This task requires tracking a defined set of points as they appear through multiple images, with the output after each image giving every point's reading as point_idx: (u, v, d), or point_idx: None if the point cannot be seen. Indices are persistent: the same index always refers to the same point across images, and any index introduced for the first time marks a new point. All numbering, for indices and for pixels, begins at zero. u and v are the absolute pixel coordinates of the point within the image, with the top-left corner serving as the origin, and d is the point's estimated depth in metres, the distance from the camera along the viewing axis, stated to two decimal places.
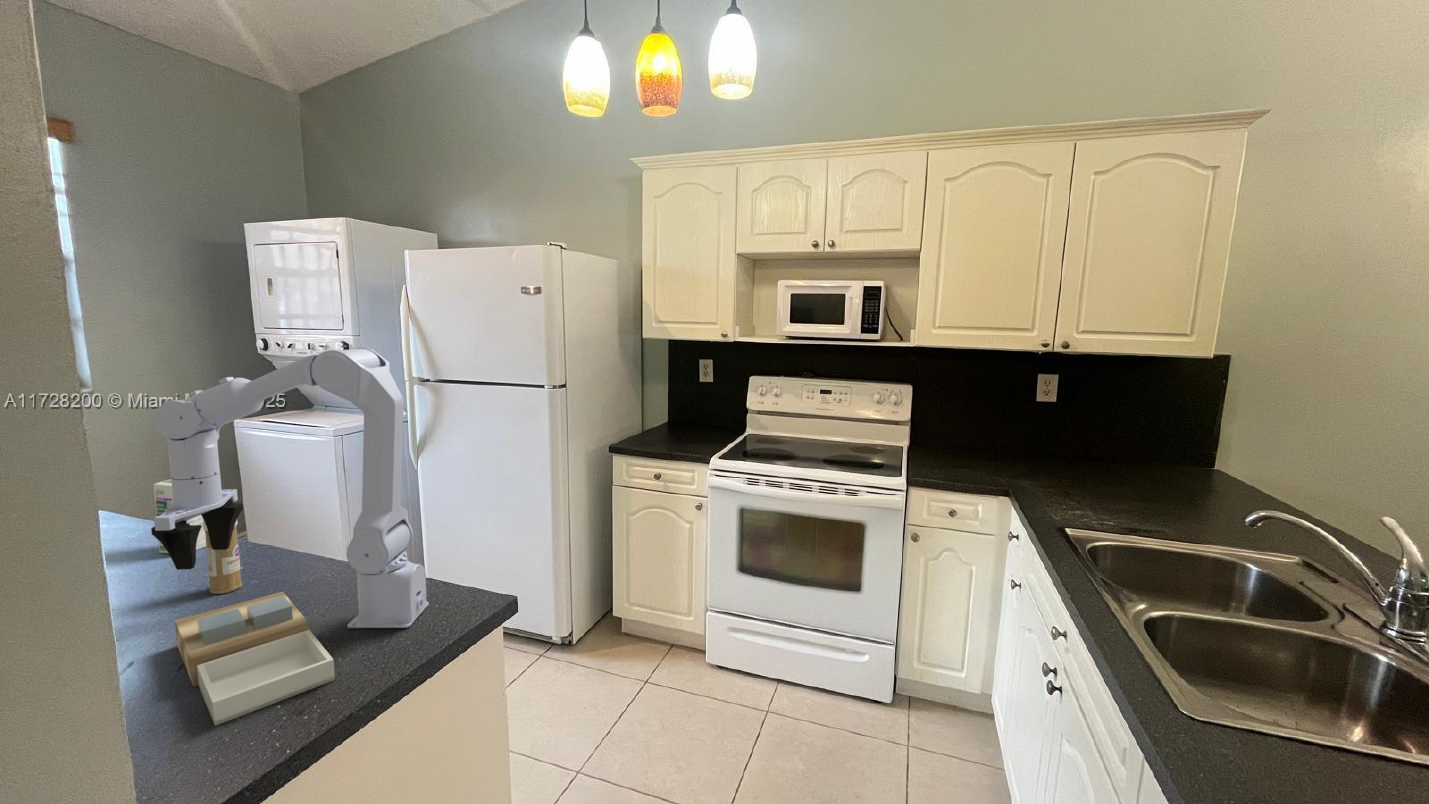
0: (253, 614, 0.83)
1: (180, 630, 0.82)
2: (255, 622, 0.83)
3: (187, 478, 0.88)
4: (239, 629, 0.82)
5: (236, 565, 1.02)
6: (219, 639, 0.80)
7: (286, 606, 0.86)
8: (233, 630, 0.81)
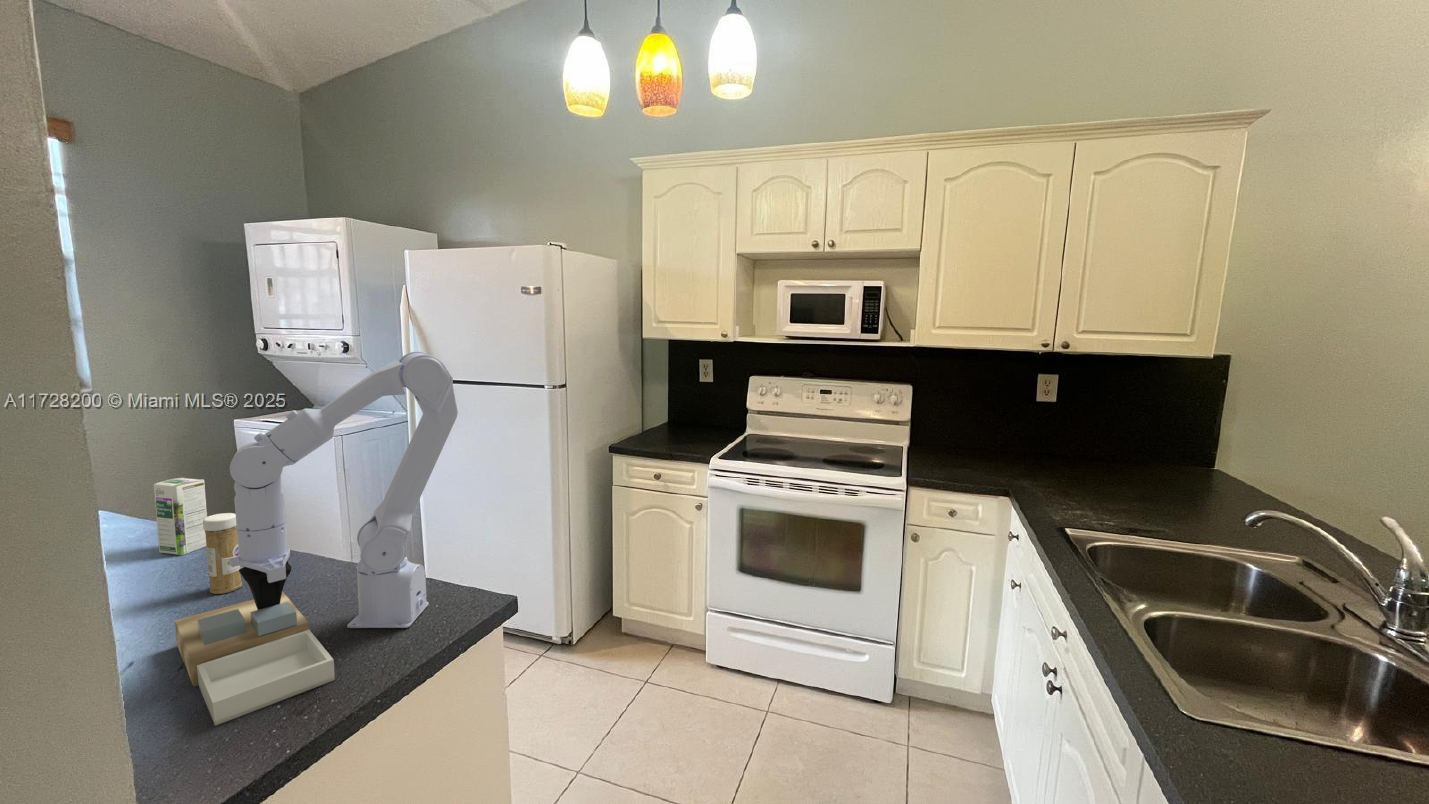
0: (257, 620, 0.82)
1: (180, 630, 0.82)
2: (259, 628, 0.81)
3: (267, 527, 0.83)
4: (239, 629, 0.82)
5: None
6: (219, 639, 0.80)
7: (290, 612, 0.84)
8: (233, 630, 0.81)
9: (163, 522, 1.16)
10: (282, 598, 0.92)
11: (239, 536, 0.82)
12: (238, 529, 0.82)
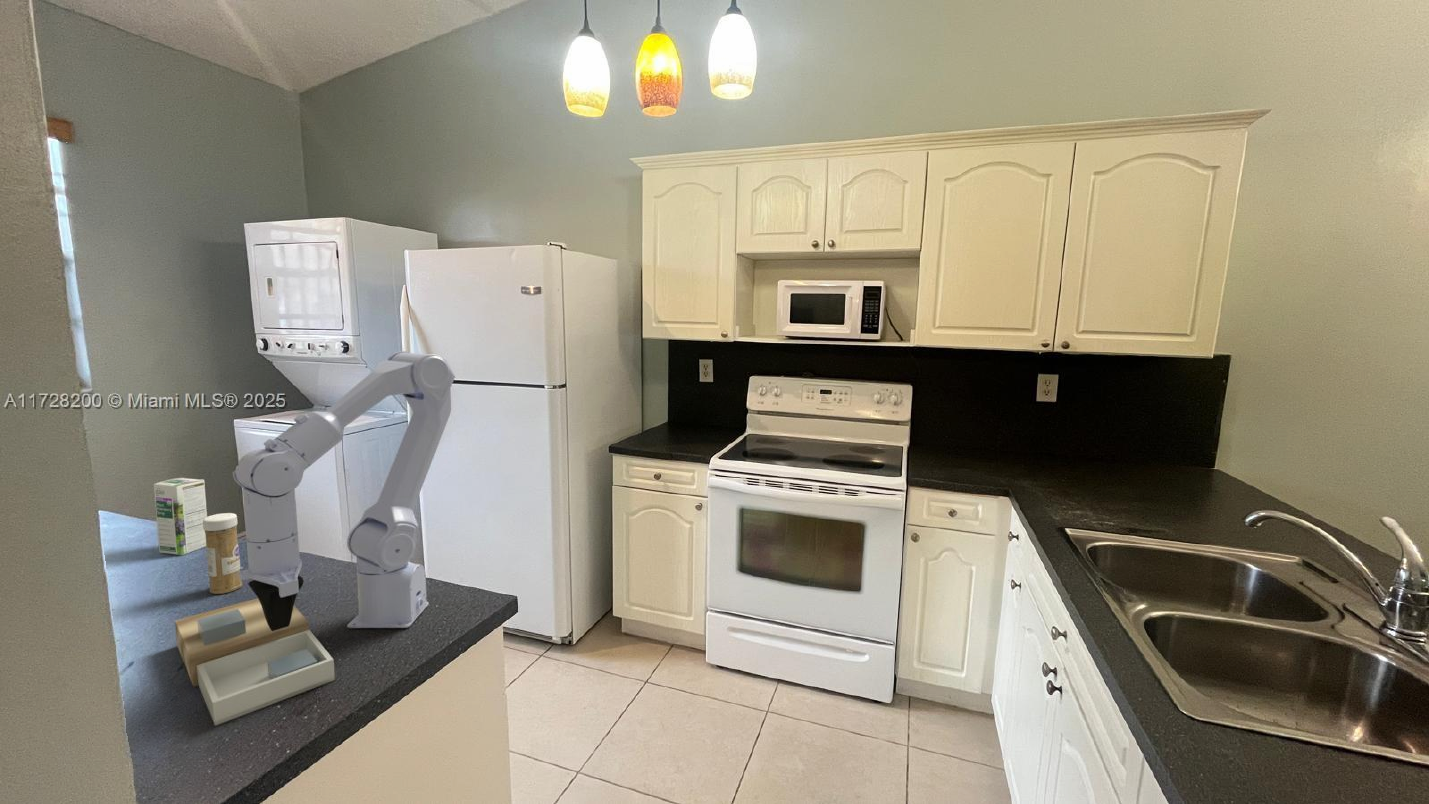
0: None
1: (180, 630, 0.82)
2: None
3: (287, 536, 0.80)
4: (239, 629, 0.82)
5: (236, 565, 1.02)
6: (219, 639, 0.80)
7: None
8: (233, 630, 0.81)
9: (163, 522, 1.16)
10: None
11: (249, 548, 0.78)
12: (248, 541, 0.78)
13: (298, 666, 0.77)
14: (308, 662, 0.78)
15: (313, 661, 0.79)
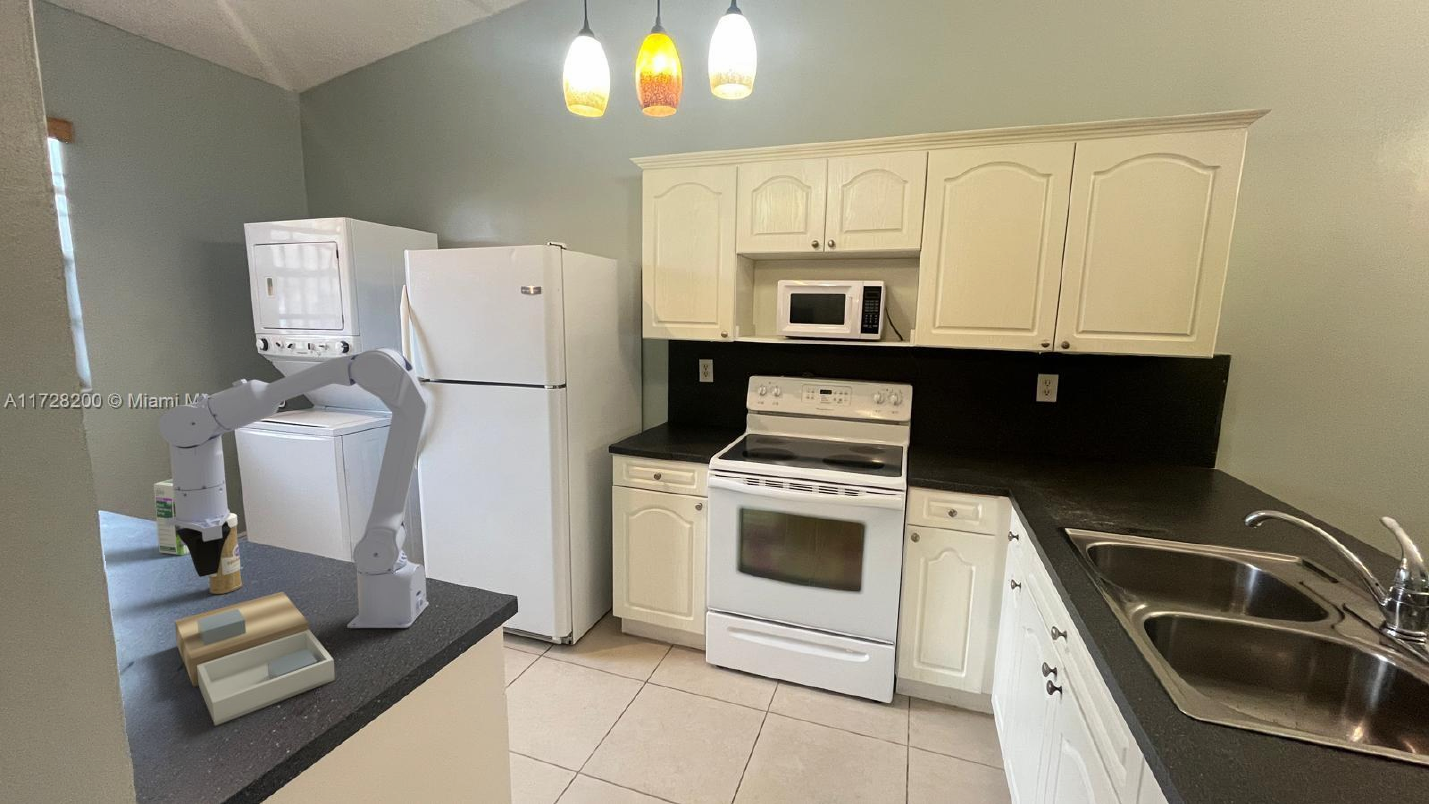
0: None
1: (180, 630, 0.82)
2: None
3: (198, 488, 0.82)
4: (239, 629, 0.82)
5: (236, 565, 1.02)
6: (219, 639, 0.80)
7: None
8: (233, 630, 0.81)
9: (163, 522, 1.16)
10: (282, 598, 0.92)
11: (175, 495, 0.82)
12: (174, 488, 0.82)
13: (298, 666, 0.77)
14: (308, 662, 0.78)
15: (313, 661, 0.79)
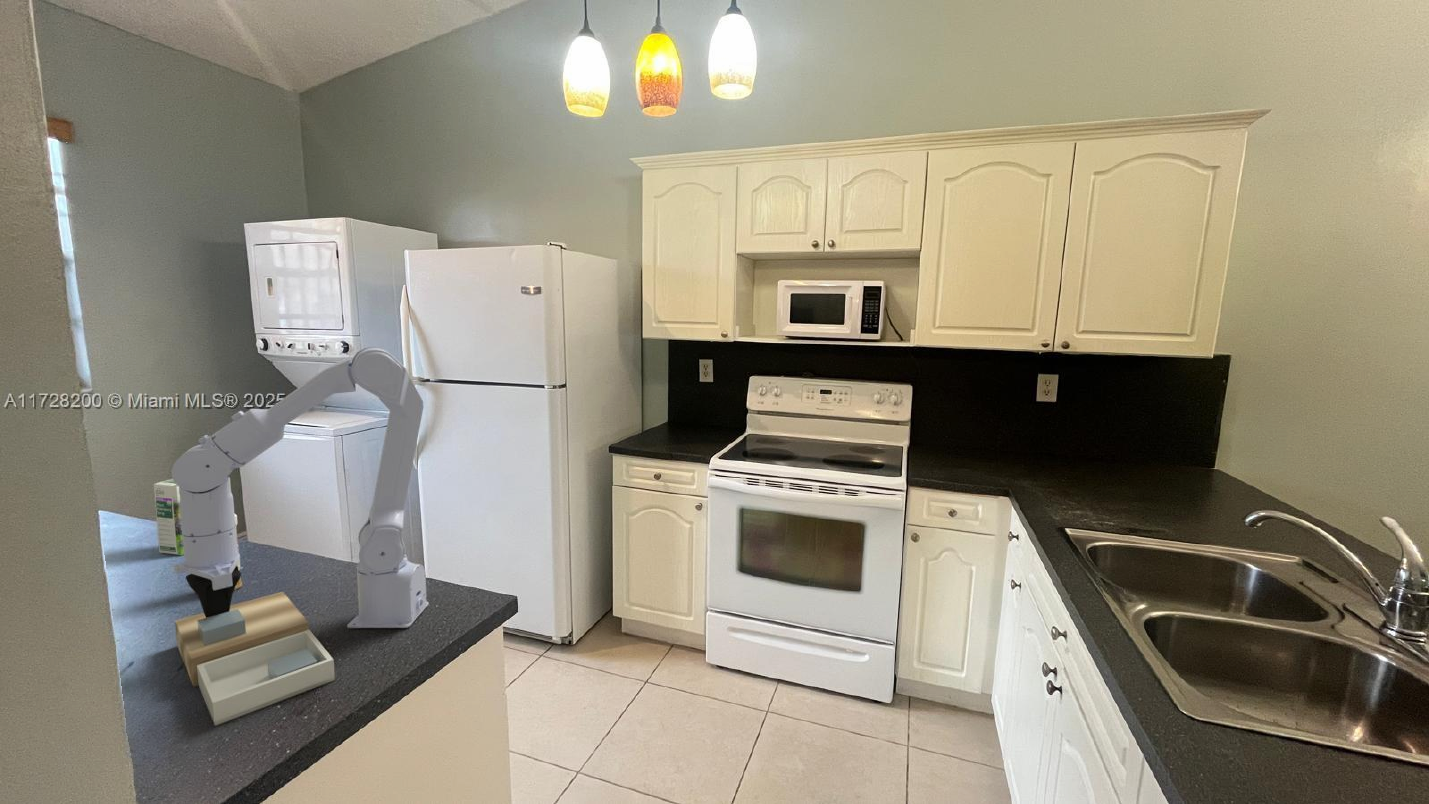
0: None
1: (180, 630, 0.82)
2: None
3: (213, 533, 0.80)
4: (239, 629, 0.82)
5: None
6: (219, 639, 0.80)
7: None
8: (233, 630, 0.81)
9: (163, 522, 1.16)
10: (282, 598, 0.92)
11: (184, 542, 0.80)
12: (183, 535, 0.80)
13: (298, 666, 0.77)
14: (308, 662, 0.78)
15: (313, 661, 0.79)
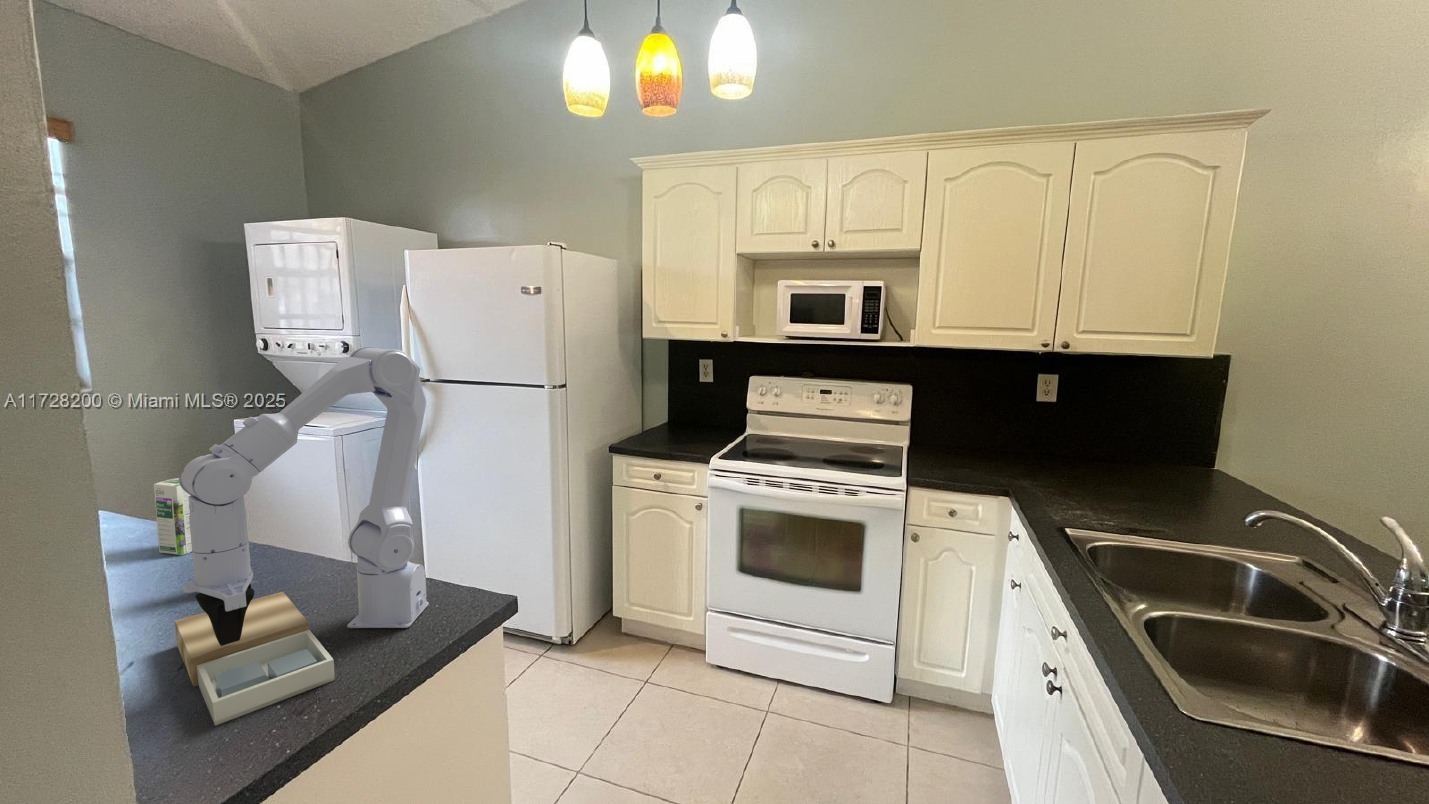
0: None
1: (180, 630, 0.82)
2: None
3: (235, 547, 0.76)
4: None
5: None
6: None
7: None
8: None
9: (163, 522, 1.16)
10: (282, 598, 0.92)
11: (194, 559, 0.74)
12: (193, 551, 0.74)
13: (298, 666, 0.77)
14: (308, 662, 0.78)
15: (313, 661, 0.79)
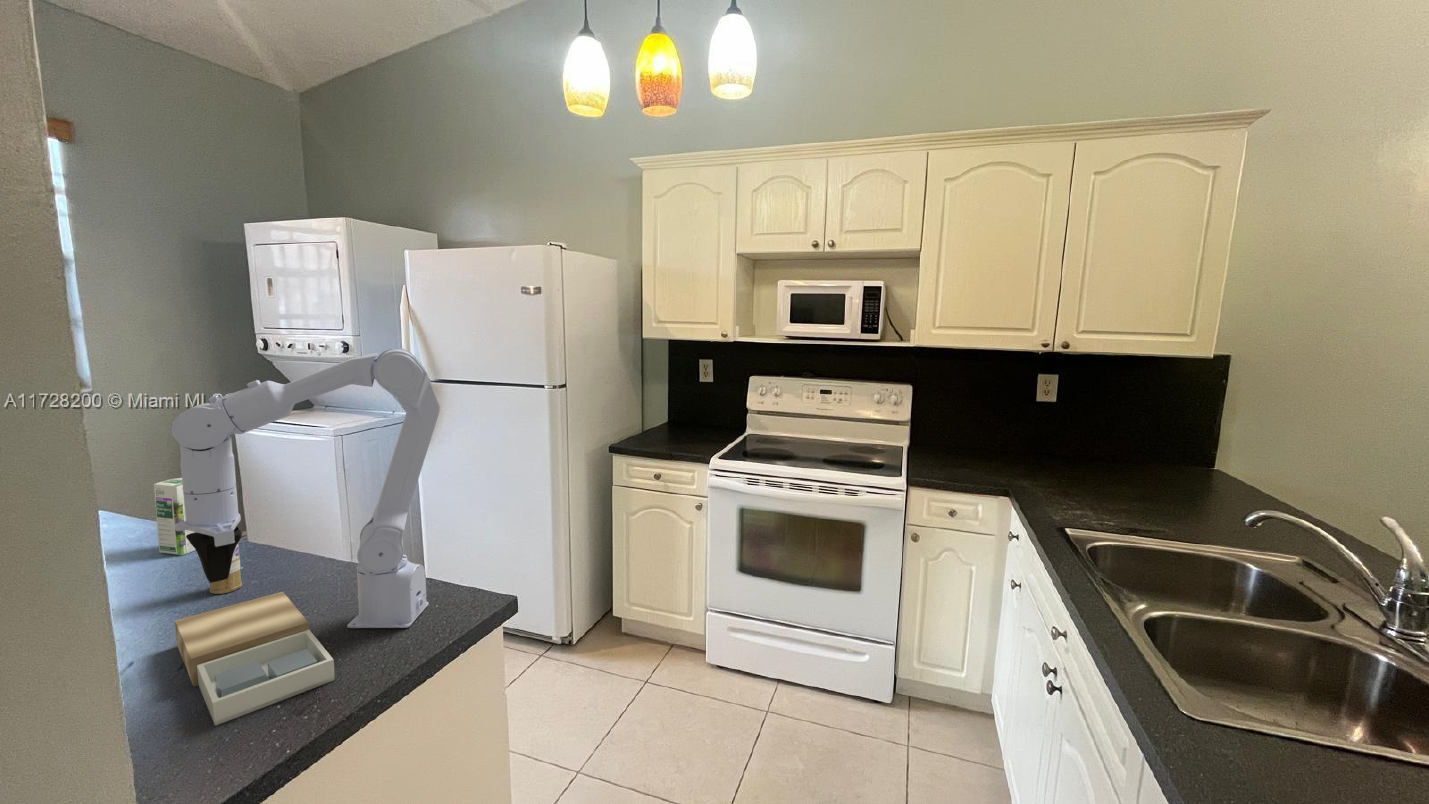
0: None
1: (180, 630, 0.82)
2: None
3: (212, 491, 0.80)
4: None
5: (236, 565, 1.02)
6: None
7: None
8: None
9: (163, 522, 1.16)
10: (282, 598, 0.92)
11: (185, 500, 0.80)
12: (184, 492, 0.80)
13: (298, 666, 0.77)
14: (308, 662, 0.78)
15: (313, 661, 0.79)
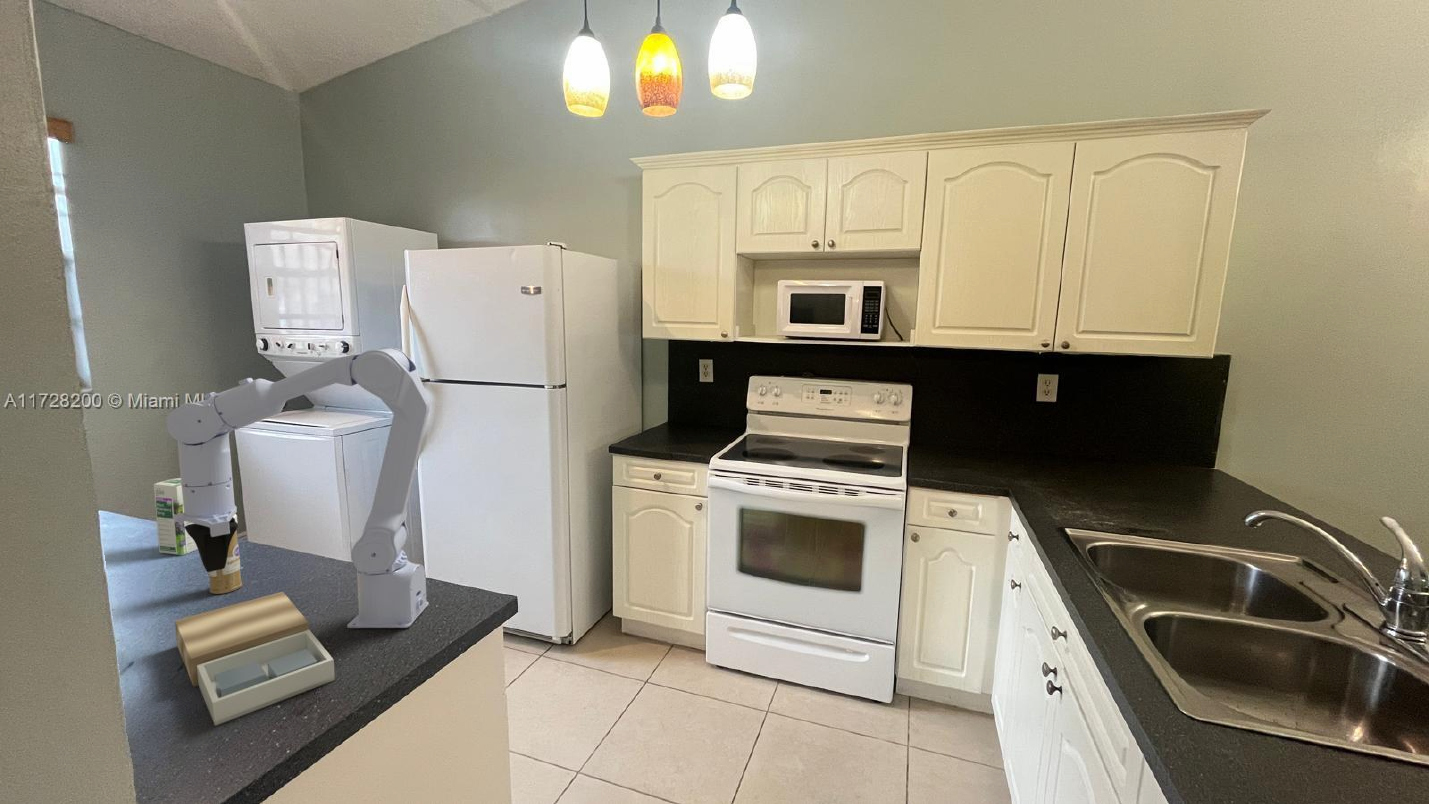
0: None
1: (180, 630, 0.82)
2: None
3: (204, 485, 0.84)
4: None
5: (236, 565, 1.02)
6: None
7: None
8: None
9: (163, 522, 1.16)
10: (282, 598, 0.92)
11: (183, 492, 0.83)
12: (182, 485, 0.83)
13: (298, 666, 0.77)
14: (308, 662, 0.78)
15: (313, 661, 0.79)
